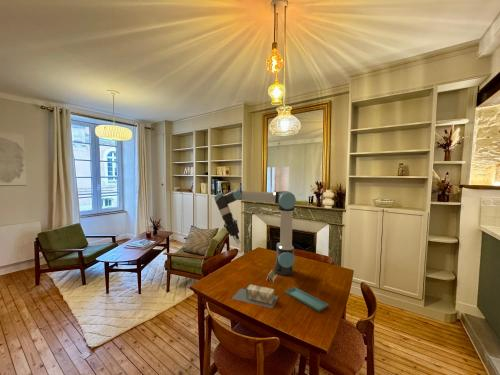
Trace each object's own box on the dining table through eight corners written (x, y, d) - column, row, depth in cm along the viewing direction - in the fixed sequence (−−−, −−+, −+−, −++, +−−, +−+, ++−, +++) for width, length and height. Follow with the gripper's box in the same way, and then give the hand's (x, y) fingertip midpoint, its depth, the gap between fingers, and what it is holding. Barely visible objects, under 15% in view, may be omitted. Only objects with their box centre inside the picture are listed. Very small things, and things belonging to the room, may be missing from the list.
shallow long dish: (284, 294, 144) (284, 290, 144) (294, 289, 150) (294, 286, 150) (319, 313, 123) (319, 309, 123) (328, 308, 129) (328, 304, 129)
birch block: (246, 288, 137) (271, 293, 131) (249, 284, 142) (274, 289, 137) (246, 298, 137) (271, 303, 131) (249, 293, 143) (273, 298, 137)
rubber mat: (231, 299, 136) (231, 298, 136) (240, 288, 149) (240, 288, 149) (272, 308, 127) (272, 308, 127) (278, 296, 140) (278, 296, 140)
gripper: (217, 217, 165) (229, 247, 163) (228, 212, 157) (241, 243, 155) (224, 214, 171) (236, 243, 169) (235, 209, 163) (248, 239, 161)
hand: (238, 243), depth 162 cm, fingers closed
